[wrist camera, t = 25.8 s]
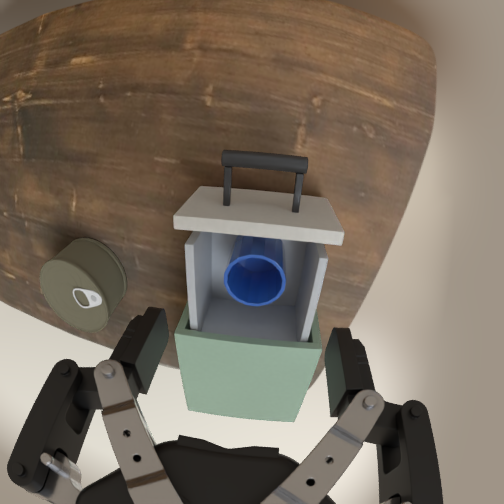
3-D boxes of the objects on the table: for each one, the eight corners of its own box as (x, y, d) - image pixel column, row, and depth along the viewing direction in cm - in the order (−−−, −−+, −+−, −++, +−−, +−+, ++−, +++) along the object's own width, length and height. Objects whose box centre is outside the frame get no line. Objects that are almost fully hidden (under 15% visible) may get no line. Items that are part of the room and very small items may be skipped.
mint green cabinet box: (198, 275, 37) (173, 333, 27) (313, 287, 36) (322, 349, 27) (202, 355, 44) (188, 410, 35) (293, 365, 44) (294, 422, 34)
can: (54, 241, 36) (27, 263, 30) (110, 230, 35) (83, 255, 29) (83, 304, 42) (63, 330, 36) (139, 303, 40) (121, 334, 34)
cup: (287, 229, 30) (289, 258, 25) (281, 274, 33) (281, 308, 28) (234, 224, 31) (224, 251, 25) (232, 269, 33) (223, 302, 28)
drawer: (201, 141, 28) (171, 154, 20) (333, 153, 27) (356, 171, 19) (201, 295, 37) (184, 344, 29) (305, 306, 36) (310, 358, 29)
